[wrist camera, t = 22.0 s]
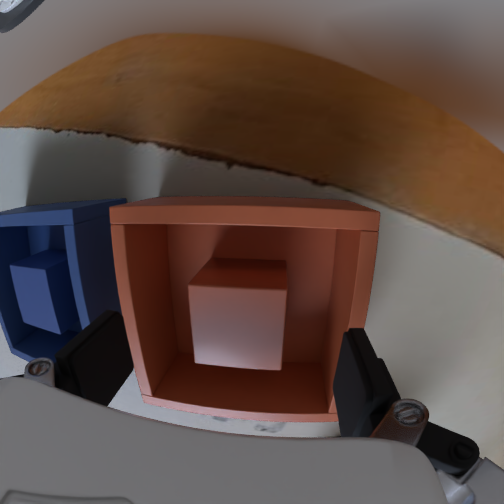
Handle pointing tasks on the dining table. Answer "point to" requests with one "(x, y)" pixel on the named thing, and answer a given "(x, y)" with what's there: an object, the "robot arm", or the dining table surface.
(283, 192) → the dining table surface
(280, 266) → the terracotta block
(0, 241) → the blue bin
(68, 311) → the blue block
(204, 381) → the terracotta bin
